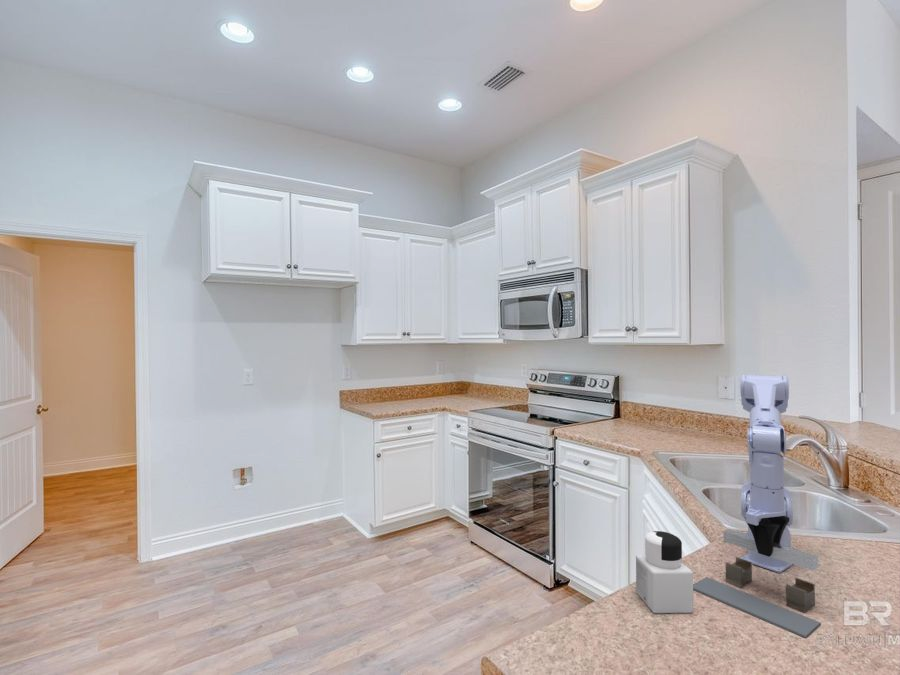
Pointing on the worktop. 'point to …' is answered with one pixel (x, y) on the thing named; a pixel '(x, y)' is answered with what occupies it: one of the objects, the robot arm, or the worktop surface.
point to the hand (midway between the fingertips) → (767, 552)
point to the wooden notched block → (739, 572)
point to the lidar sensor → (664, 575)
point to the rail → (778, 550)
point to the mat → (757, 607)
